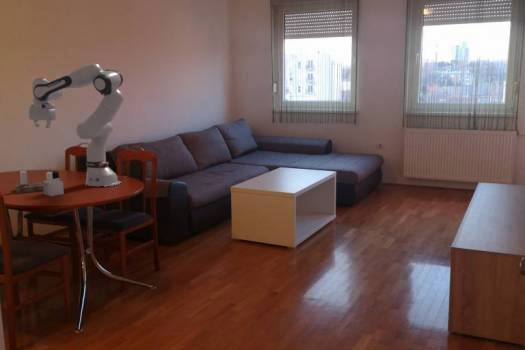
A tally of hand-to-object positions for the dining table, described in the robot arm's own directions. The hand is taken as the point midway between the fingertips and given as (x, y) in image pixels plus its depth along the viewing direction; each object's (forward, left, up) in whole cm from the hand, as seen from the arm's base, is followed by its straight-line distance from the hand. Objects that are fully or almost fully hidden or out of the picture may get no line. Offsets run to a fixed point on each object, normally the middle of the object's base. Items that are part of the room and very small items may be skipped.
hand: (42, 127), depth 330 cm
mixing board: (-16, +21, -34) cm, 43 cm away
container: (-35, +24, -34) cm, 55 cm away
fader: (-13, +26, -31) cm, 43 cm away
